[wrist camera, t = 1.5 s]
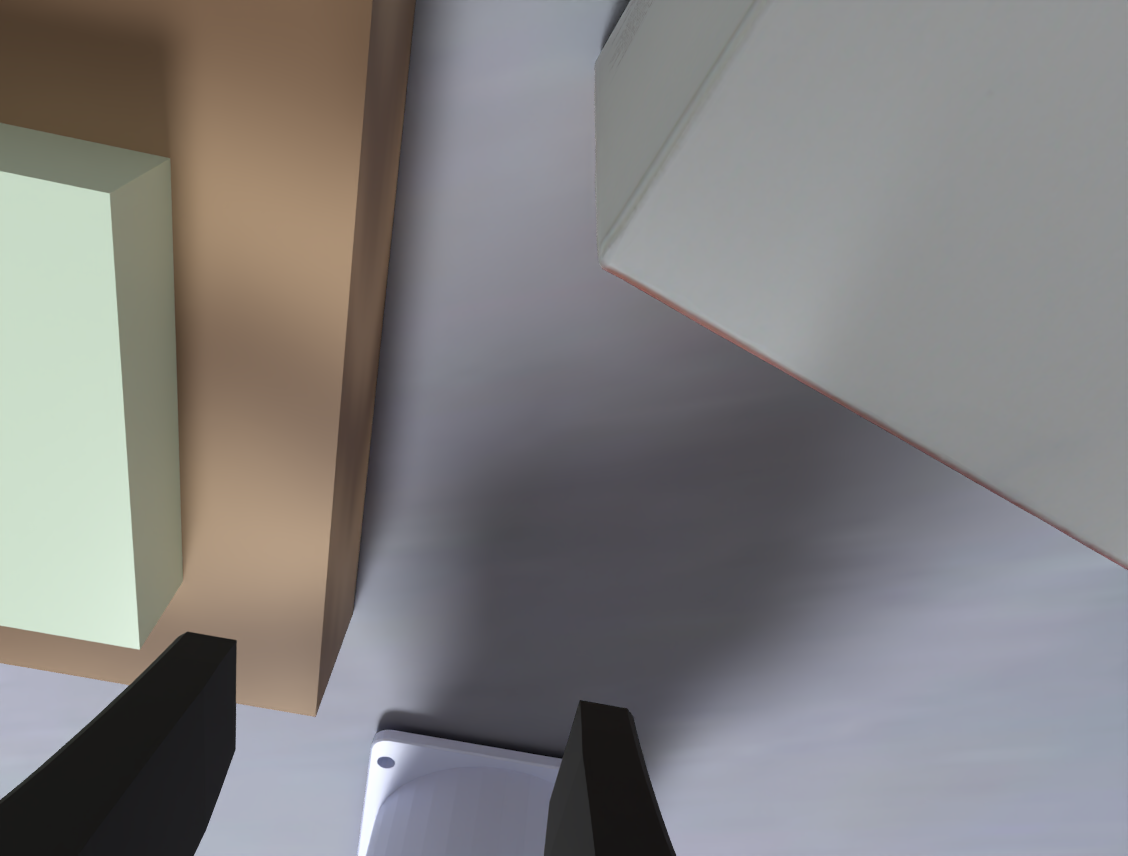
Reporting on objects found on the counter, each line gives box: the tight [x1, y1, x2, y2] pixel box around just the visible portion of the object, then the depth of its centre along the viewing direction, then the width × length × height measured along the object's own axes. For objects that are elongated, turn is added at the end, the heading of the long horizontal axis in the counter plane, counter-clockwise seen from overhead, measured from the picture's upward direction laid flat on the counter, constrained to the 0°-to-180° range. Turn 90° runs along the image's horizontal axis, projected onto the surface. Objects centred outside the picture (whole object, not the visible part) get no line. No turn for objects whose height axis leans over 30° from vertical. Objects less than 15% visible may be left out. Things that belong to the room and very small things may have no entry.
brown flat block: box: [0, 0, 416, 717], centre depth 18 cm, size 16×14×4 cm
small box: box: [595, 0, 1128, 570], centre depth 12 cm, size 8×6×10 cm
